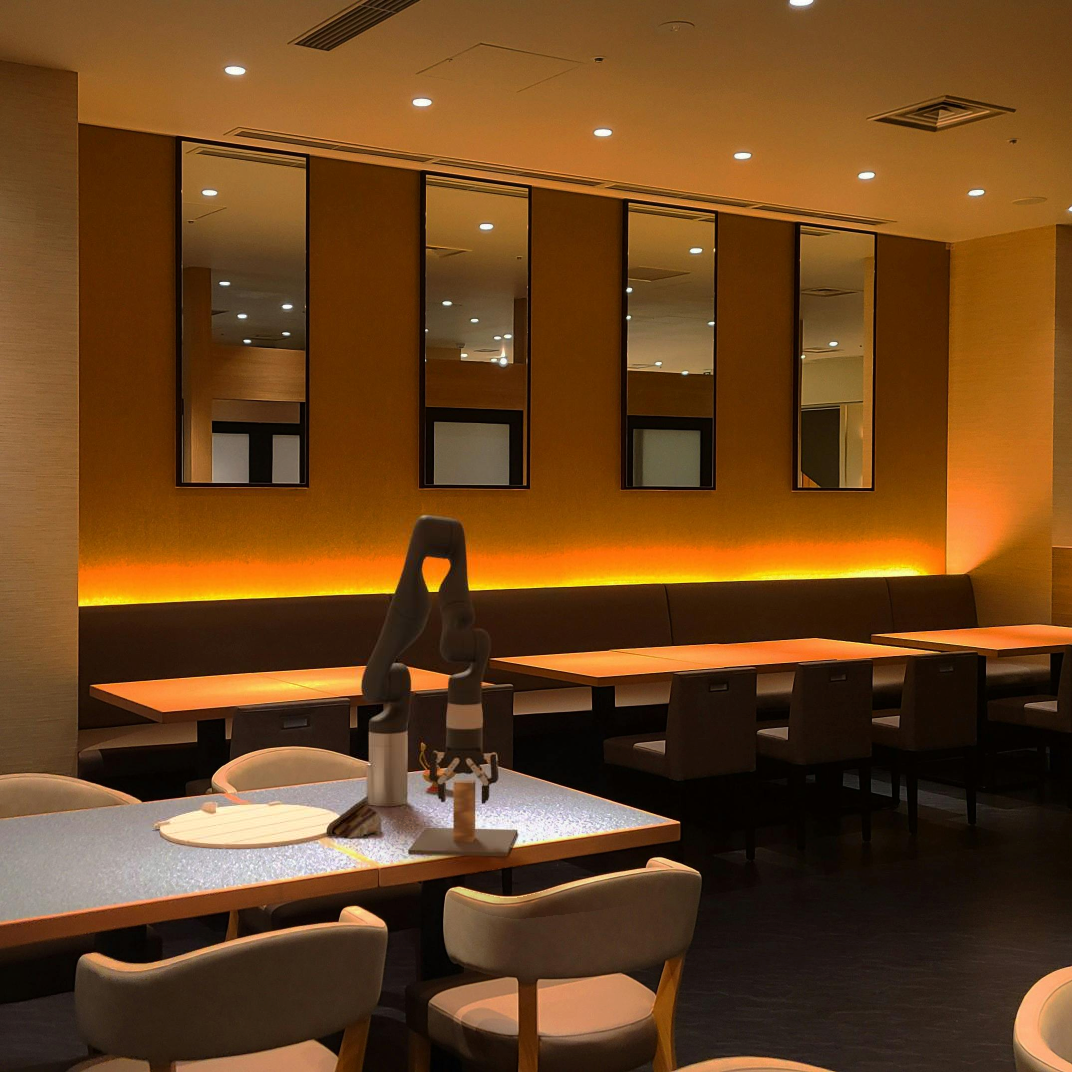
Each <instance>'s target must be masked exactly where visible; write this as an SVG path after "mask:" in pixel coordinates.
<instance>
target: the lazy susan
mask: <svg viewBox="0 0 1072 1072" xmlns="http://www.w3.org/2000/svg"><path fill="white" fill-rule="evenodd" d="M218 806H219V805H218V802H215V801H207V802H205V803H203V805H202V806H200V809H199V810H195V811H190V812H187V813H183V814H180V815H177V816H173V817H171V818H169V819H167V820H164V821H159V822H156V823H155V824H153V827H152V828H153V829H159V834H160V836H161V837H162V838H163V839H166V840H167V841H170V842H172V843H176V844H181V845H186V846H190V847H197V846H198V847H199V848H210V849H256V848H268V847H269V848H271V847H279V846H280V847H282V846H288V845H287V844H289V845H294V844H295V843H296V844H300V842H301V843H307V842H310V841H314V840H318V839H322V838H325V837H328V836H329V835H328V834H327V832H326V831H327V827H328V825H329V824H330V823H331V822H333V821H334V820H336V819H337V818H338V817H340V816H341V815H339V814H338V813H336V812H334V811H332V810H328V809H325V808H320V807H313V806H309V805H308V806H305V805H296V804H283V801H281V802H280V801H279V800H278V801H273V802H267V803H266V804H263V803H262V804H240V805H229V806H220V807H218ZM306 841H307V842H306ZM281 845H282V846H281Z"/></svg>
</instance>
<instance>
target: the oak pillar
mask: <svg viewBox="0 0 1072 1072" xmlns="http://www.w3.org/2000/svg"><path fill="white" fill-rule="evenodd" d="M452 811H453V812H452V813H453V827H452V828H453V842H473V840H474V839H475V829H476V780H475V779H474V780H473V779H456V780H455V782H453V810H452Z"/></svg>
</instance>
